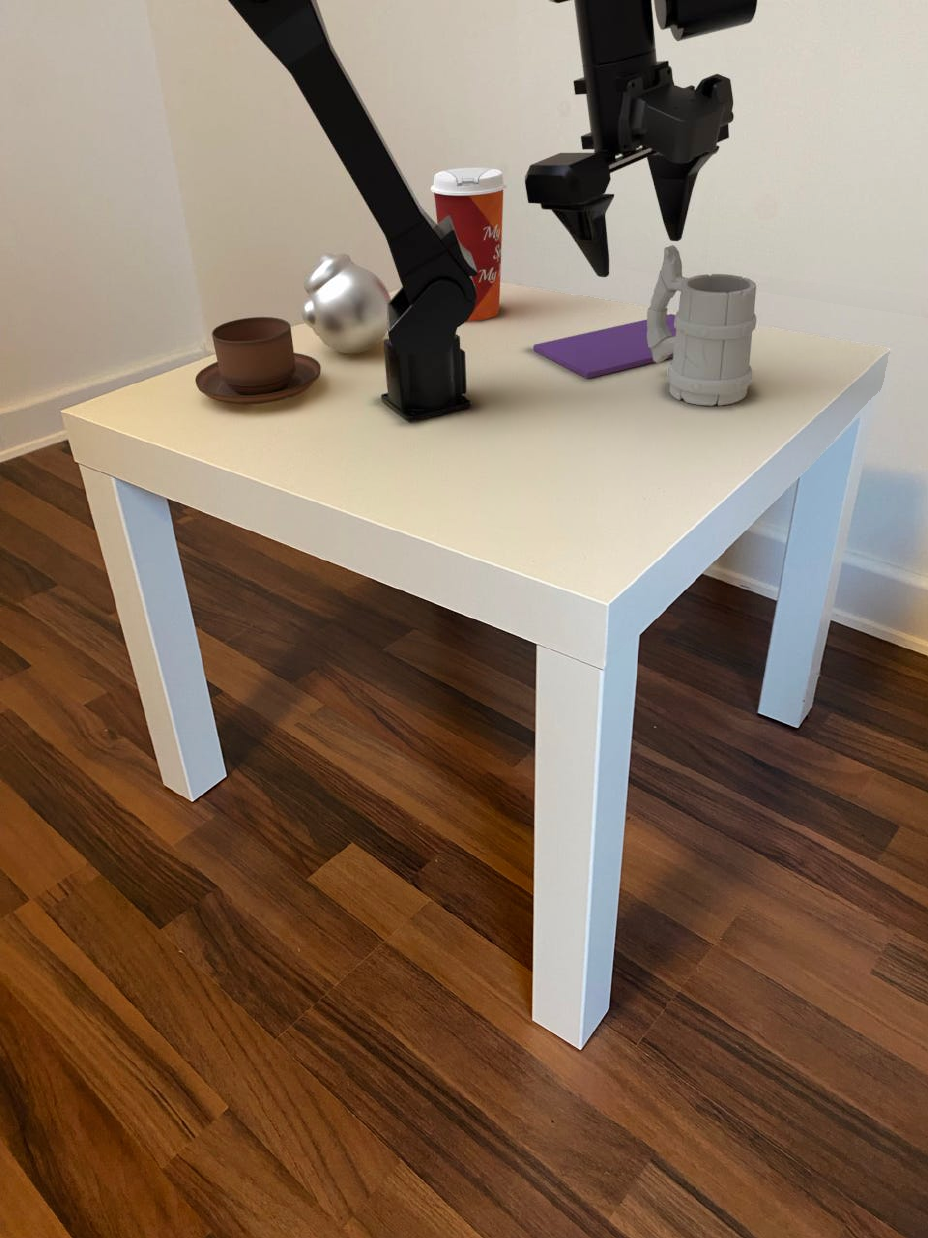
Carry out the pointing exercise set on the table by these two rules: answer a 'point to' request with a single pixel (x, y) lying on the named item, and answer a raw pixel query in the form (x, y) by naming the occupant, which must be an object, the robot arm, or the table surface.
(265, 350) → the cup and saucer
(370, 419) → the table surface
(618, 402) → the table surface
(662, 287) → the mug
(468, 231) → the coffee cup
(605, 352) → the purple rectangular board
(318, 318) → the silver lumpy ball
